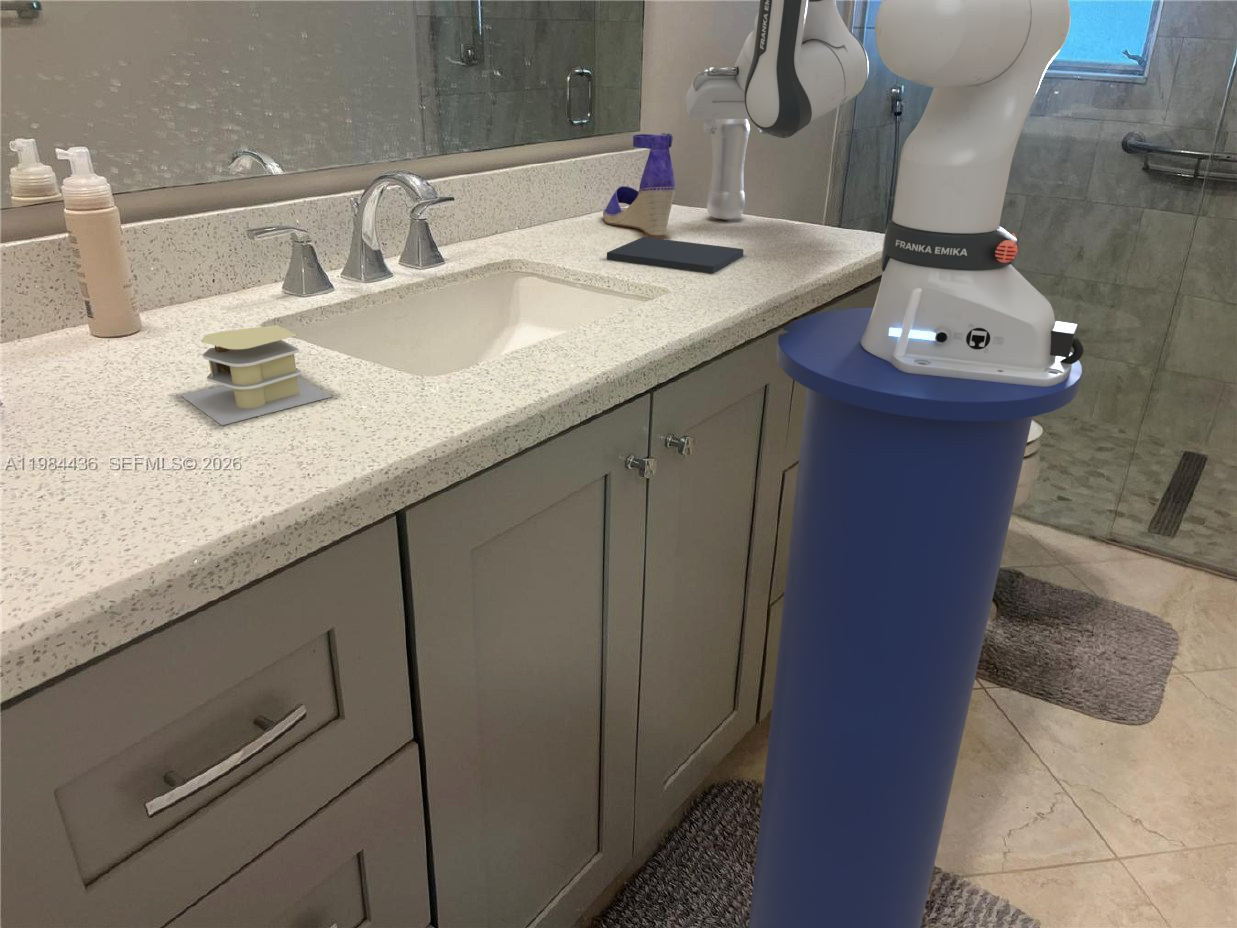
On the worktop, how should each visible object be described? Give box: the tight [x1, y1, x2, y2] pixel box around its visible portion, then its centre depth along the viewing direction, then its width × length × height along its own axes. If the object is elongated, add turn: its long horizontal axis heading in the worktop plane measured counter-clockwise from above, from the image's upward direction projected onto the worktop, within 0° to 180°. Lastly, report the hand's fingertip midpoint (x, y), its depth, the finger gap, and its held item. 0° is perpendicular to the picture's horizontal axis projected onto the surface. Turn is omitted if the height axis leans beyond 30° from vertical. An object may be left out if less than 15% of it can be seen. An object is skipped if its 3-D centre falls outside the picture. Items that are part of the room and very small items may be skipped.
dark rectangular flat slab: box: [606, 236, 745, 274], centre depth 135 cm, size 16×12×1 cm
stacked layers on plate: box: [180, 324, 333, 426], centre depth 83 cm, size 10×9×6 cm
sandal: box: [602, 132, 676, 239], centre depth 151 cm, size 8×20×15 cm, turn 15°
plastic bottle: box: [706, 119, 751, 221], centre depth 157 cm, size 6×7×20 cm
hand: (735, 130), depth 152 cm, fingers open, 8 cm apart
